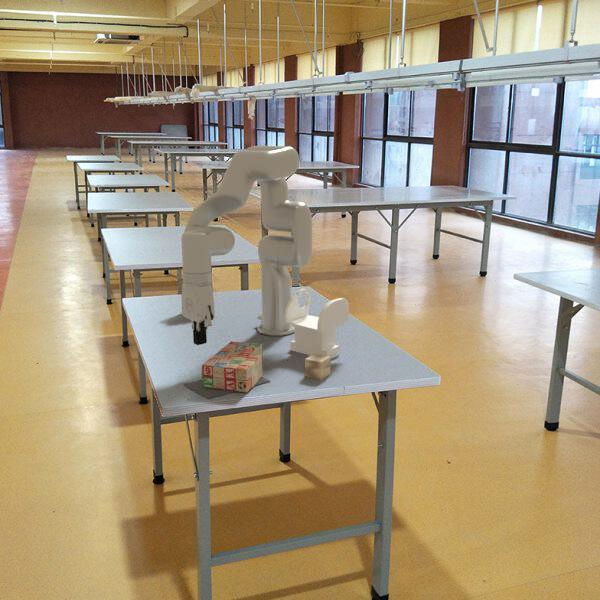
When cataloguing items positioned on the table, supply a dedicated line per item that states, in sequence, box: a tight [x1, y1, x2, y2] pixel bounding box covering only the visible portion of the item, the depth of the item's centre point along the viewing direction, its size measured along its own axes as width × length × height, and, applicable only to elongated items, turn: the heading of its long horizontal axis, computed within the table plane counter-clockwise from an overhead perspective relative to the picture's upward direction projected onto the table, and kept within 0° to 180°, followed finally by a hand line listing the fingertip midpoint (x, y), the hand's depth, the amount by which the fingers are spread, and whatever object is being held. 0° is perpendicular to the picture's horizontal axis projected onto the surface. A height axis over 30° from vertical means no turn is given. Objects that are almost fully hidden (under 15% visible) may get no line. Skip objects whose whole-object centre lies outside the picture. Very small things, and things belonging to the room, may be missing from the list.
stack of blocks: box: [201, 341, 263, 393], centre depth 183 cm, size 21×6×12 cm
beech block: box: [304, 354, 331, 380], centre depth 184 cm, size 5×5×5 cm
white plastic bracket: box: [284, 288, 350, 360], centre depth 201 cm, size 14×13×18 cm
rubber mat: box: [183, 376, 271, 400], centre depth 179 cm, size 12×19×1 cm, turn 129°
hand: (200, 343), depth 186 cm, fingers closed
